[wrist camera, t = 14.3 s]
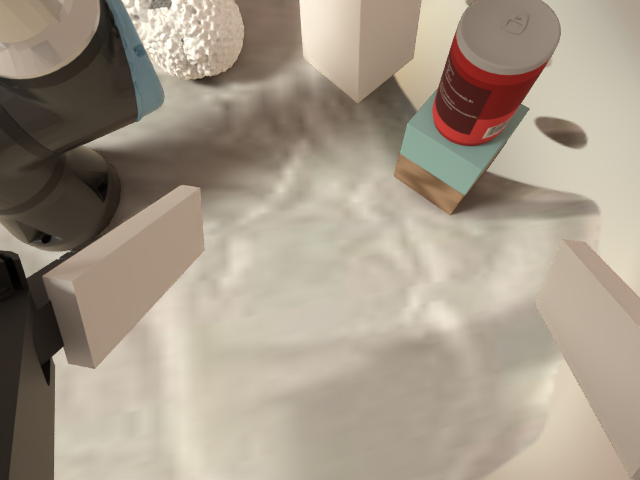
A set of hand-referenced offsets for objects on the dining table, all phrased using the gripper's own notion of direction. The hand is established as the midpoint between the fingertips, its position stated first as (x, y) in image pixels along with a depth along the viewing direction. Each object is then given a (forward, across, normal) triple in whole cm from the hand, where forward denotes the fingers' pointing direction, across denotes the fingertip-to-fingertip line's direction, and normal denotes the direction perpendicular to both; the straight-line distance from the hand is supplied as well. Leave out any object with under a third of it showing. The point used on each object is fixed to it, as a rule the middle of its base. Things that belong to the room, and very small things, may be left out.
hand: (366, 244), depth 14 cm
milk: (+52, -5, +4) cm, 52 cm away
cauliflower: (+52, -30, +4) cm, 60 cm away
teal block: (+35, +9, -4) cm, 36 cm away
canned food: (+31, +9, +1) cm, 32 cm away
